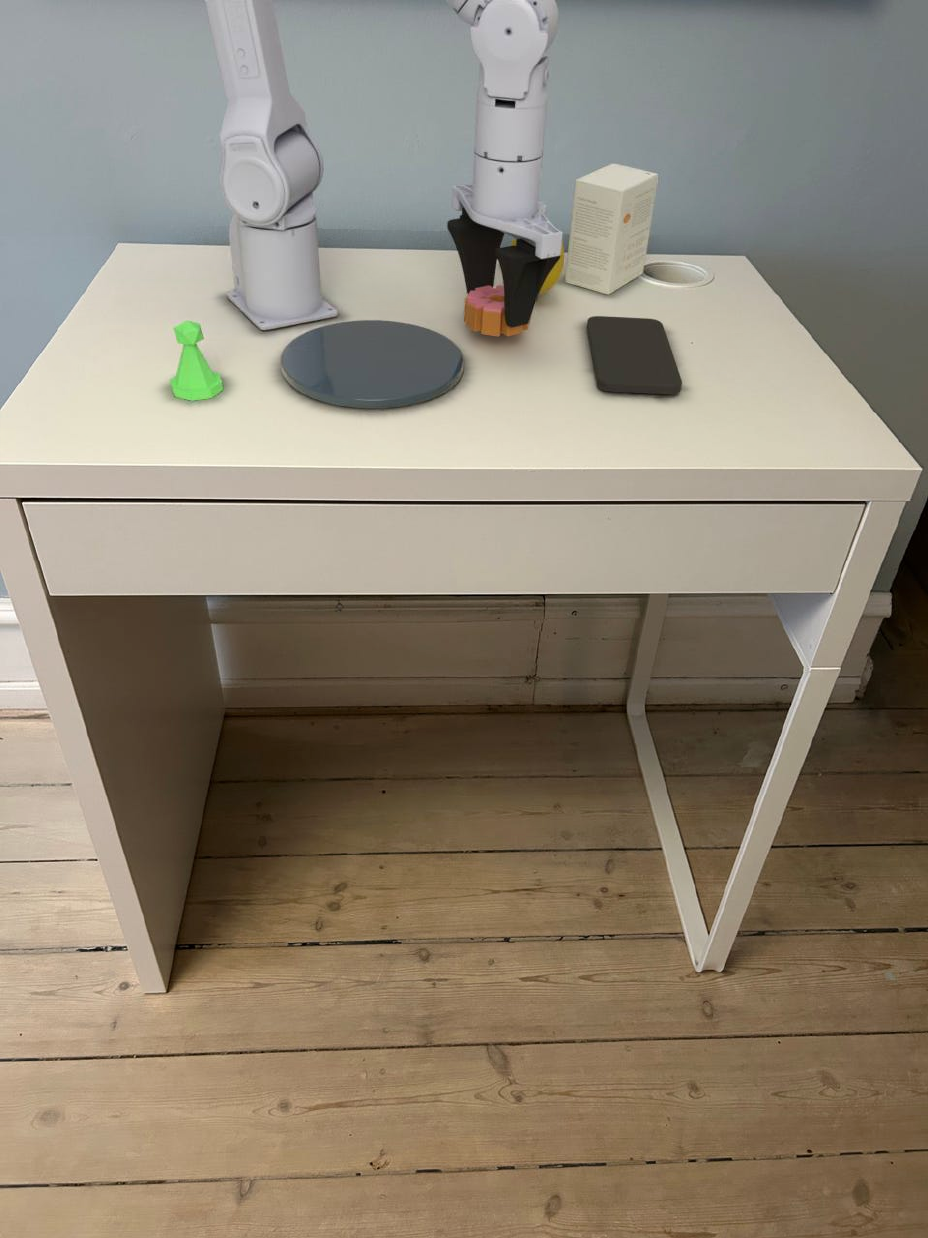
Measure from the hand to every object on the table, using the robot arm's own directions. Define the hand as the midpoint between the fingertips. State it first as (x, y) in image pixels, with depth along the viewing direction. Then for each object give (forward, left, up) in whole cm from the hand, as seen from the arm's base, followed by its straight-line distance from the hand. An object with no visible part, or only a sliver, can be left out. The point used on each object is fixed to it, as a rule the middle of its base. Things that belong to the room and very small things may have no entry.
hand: (498, 311), depth 88 cm
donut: (0, 0, -1) cm, 1 cm away
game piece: (-3, -28, -3) cm, 28 cm away
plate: (0, -13, -3) cm, 13 cm away
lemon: (-7, +9, -3) cm, 12 cm away
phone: (+9, +9, -3) cm, 13 cm away
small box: (-8, +19, -3) cm, 21 cm away
